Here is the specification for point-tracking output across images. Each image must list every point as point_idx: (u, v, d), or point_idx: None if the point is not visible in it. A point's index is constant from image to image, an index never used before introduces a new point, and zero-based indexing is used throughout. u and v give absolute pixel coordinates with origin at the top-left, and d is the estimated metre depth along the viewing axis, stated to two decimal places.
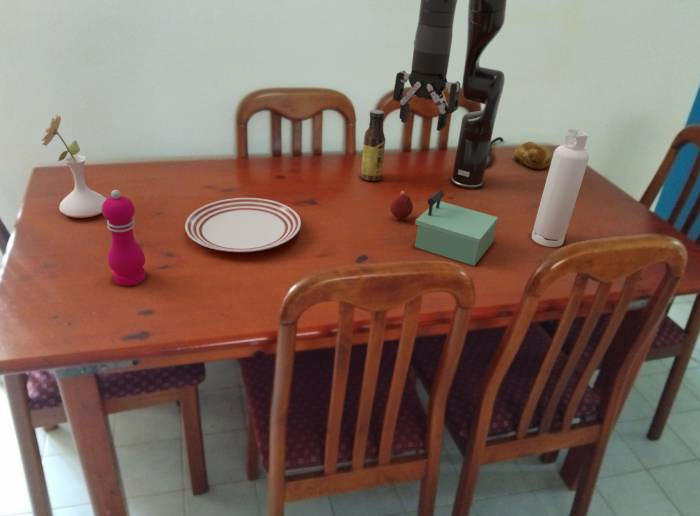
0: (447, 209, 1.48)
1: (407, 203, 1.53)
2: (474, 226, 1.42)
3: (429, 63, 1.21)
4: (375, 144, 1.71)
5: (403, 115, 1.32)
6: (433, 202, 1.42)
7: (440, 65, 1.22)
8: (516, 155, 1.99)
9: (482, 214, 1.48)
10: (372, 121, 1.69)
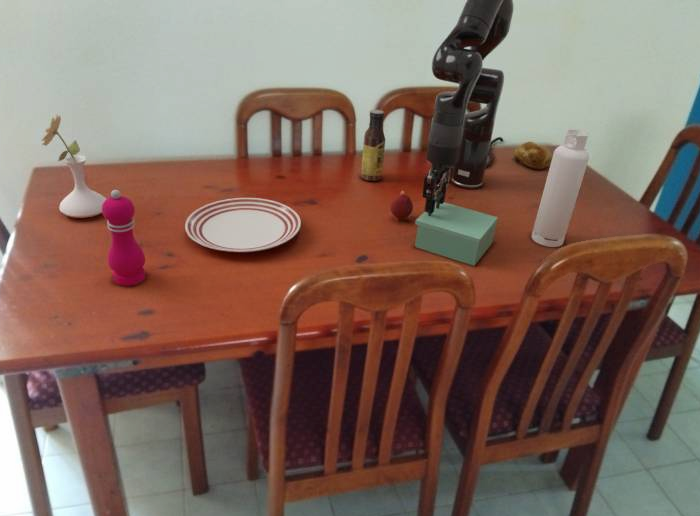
0: (447, 209, 1.48)
1: (407, 203, 1.53)
2: (474, 226, 1.42)
3: (427, 148, 1.39)
4: (375, 144, 1.71)
5: None
6: None
7: (429, 153, 1.37)
8: (516, 155, 1.99)
9: (482, 214, 1.48)
10: (372, 121, 1.69)
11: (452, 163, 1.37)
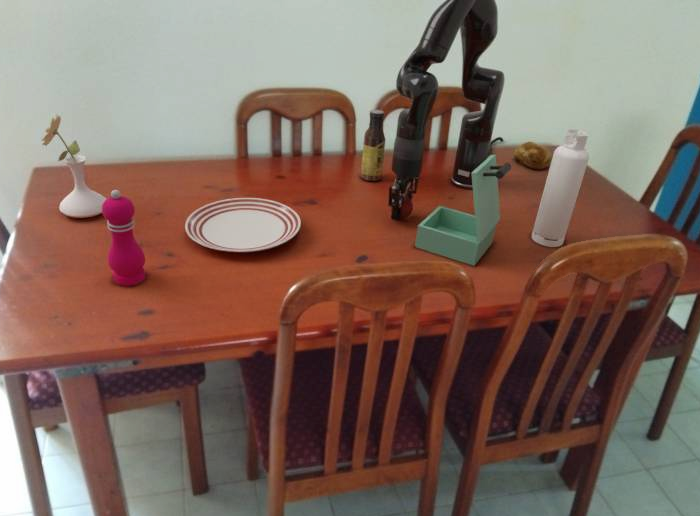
0: (492, 176, 1.39)
1: (407, 203, 1.53)
2: (488, 220, 1.39)
3: (392, 160, 1.50)
4: (375, 144, 1.71)
5: None
6: (499, 177, 1.32)
7: (394, 165, 1.48)
8: (516, 155, 1.99)
9: (498, 206, 1.45)
10: (372, 121, 1.69)
11: (415, 174, 1.48)
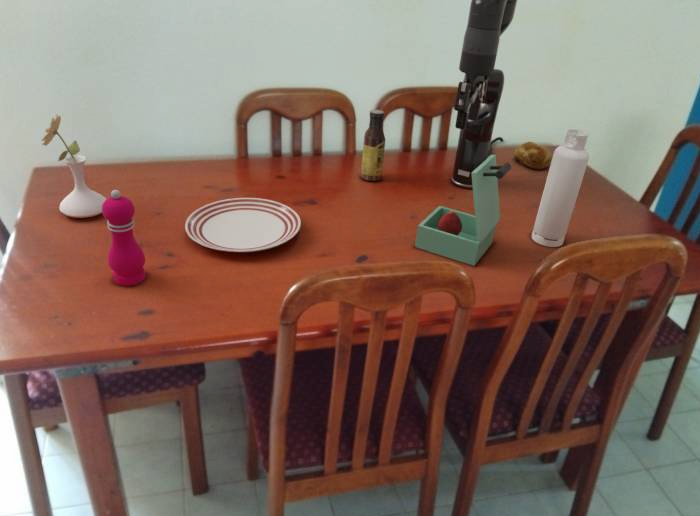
0: (492, 176, 1.39)
1: (456, 222, 1.44)
2: (488, 220, 1.39)
3: None
4: (375, 144, 1.71)
5: None
6: (499, 177, 1.32)
7: (463, 62, 1.29)
8: (516, 155, 1.99)
9: (498, 206, 1.45)
10: (372, 121, 1.69)
11: (487, 73, 1.29)
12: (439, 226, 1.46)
